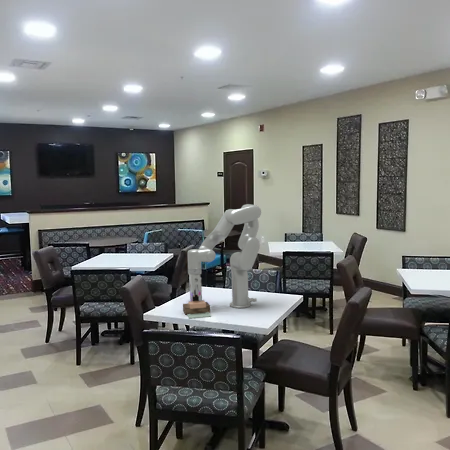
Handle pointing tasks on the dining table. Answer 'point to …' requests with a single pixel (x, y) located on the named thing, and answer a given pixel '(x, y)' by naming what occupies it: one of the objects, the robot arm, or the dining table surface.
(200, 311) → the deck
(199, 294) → the candy box
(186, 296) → the dining table surface
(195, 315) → the mat
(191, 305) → the tile
